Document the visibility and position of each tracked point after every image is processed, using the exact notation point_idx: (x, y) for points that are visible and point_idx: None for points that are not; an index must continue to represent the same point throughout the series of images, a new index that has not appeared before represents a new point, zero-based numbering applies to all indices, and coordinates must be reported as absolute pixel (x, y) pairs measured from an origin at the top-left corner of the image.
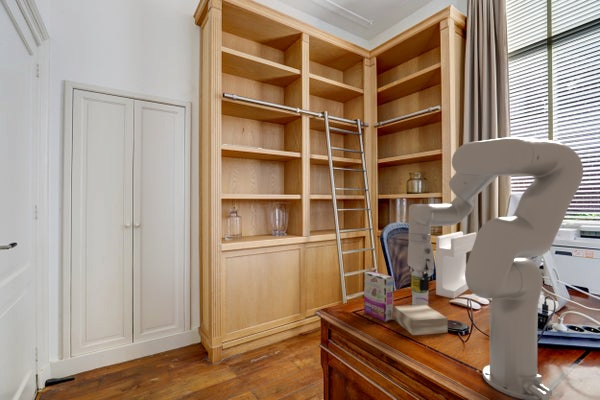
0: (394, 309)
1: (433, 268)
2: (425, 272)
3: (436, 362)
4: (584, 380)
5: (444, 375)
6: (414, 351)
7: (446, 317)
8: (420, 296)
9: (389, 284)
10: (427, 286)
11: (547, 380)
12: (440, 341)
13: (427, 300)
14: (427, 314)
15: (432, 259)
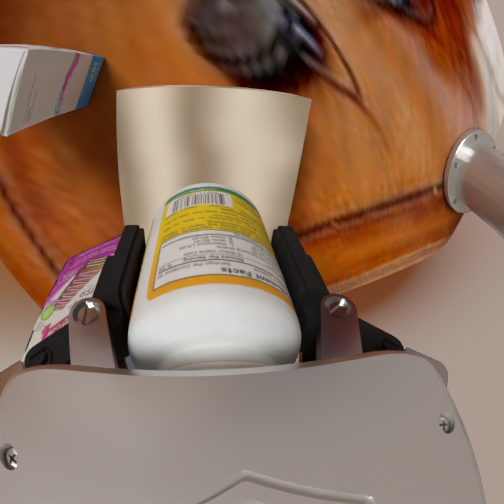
0: None
1: (437, 378)
2: (256, 335)
3: (385, 244)
4: (498, 56)
5: (410, 254)
6: (338, 262)
7: (304, 98)
8: (56, 96)
9: (128, 359)
10: (312, 265)
11: (487, 107)
12: (331, 167)
13: (77, 57)
14: (247, 160)
15: (468, 480)
